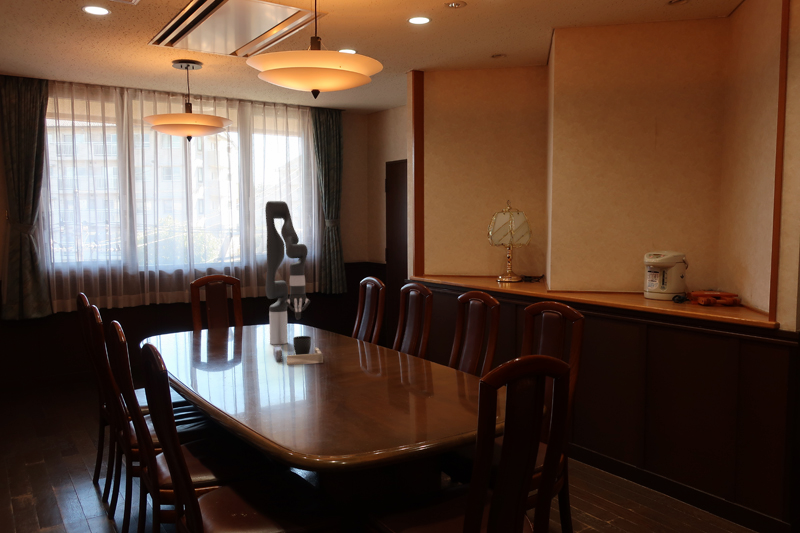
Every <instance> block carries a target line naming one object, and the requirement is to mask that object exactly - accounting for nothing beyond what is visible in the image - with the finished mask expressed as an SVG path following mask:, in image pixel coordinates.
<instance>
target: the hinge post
mask: <svg viewBox="0 0 800 533" xmlns="http://www.w3.org/2000/svg"><path fill="white" fill-rule="evenodd" d="M276 358H277V360H276V363H283V350H282V349H281V350H276Z"/></svg>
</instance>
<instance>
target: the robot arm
mask: <svg viewBox="0 0 800 533" xmlns="http://www.w3.org/2000/svg"><path fill="white" fill-rule="evenodd" d="M264 209H265V212H264V214H265V224H266V274H265V275H266V279H265V295H266V297H267V299H269V300H272V299H273V300H275V299H277V300H276V302H275V303H272V304H271V305H270V306H269V309H268V311H269V313H268V316H269V344H270V345H275V346H276V345H284V344H285V345H286V344H287V343H288V308H289V309H290V310H291V311H292V312H294V317H295V319H296V320H297V321H298V320H301V318H302V312H303V311H305V310H306V309H307V308H308V306H309V305H310V303H311V300H310V299H309V298H308V297H307V296H306V277H305V266H306V261H307V257H308V253H309V249H308V247H307V245H306V244H304V243H299V241H300V240H299V236H298V234H297V232H296V230H295V227H294V224H293V221H292V216H291V213H290V209H289V206H288V204H287V202H286V201H284V200H283V201H282V200H268V201H267V202H266V203H265V208H264ZM276 219H279V220H281V219H282V220H283V224H282V227H281V230H280V232H281V235H280V234H279V232H278V230H277V228H276V224H275V220H276ZM285 254H286V257H287V258H289V259H292V260H293V259H297V261H296V262H293V263H291V264H290V265H289V285H288V282H287V281H285V280H276V275H277V271H278V270H279V268H280V266H281V264H282V262H283V261H284V258H285ZM304 302H305V303H304ZM291 304H292V305H293V306H294V307H293V306H292V305H291ZM303 304H304V305H303Z"/></svg>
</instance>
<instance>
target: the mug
mask: <svg viewBox="0 0 800 533" xmlns="http://www.w3.org/2000/svg"><path fill="white" fill-rule="evenodd" d="M292 341H293V349H294V353H295V354H294V355H302V354H310V352H311V347H312V346H311V345H312V337H311V336H308V335H297V336H294V337H293V340H292Z"/></svg>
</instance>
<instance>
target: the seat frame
mask: <svg viewBox="0 0 800 533" xmlns="http://www.w3.org/2000/svg"><path fill="white" fill-rule="evenodd" d="M323 356H324V353H322V351H321V350H320V349H319V348H318V347H314V353H309V354H302V355H296V354H288V355H287V354H286V365H287V366H292V365H305V364H307V365H308V364H309V365H310V364H318V363H319V364H321V363H323V362H324V361H323V360H324V357H323Z"/></svg>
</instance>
